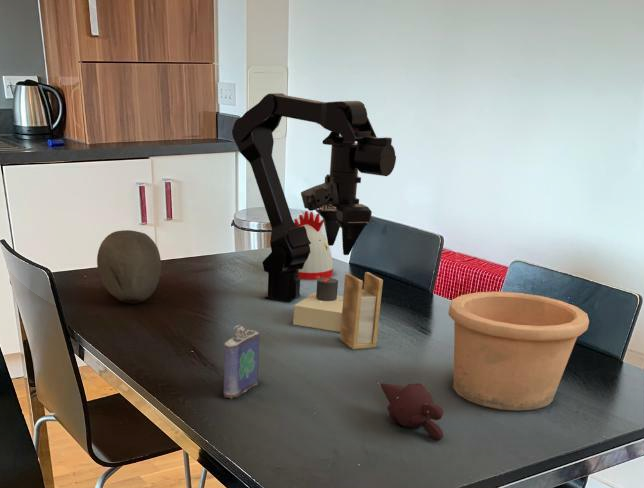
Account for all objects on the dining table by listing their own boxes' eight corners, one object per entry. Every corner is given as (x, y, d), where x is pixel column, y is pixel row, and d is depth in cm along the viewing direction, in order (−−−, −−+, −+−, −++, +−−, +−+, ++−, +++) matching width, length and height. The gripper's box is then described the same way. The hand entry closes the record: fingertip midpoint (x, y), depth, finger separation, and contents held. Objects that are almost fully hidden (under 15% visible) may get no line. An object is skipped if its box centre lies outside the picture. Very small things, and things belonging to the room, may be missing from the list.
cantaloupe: (175, 304, 173) (172, 234, 165) (115, 313, 166) (110, 240, 158) (146, 290, 183) (143, 222, 175) (89, 297, 176) (83, 227, 168)
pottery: (481, 361, 147) (495, 284, 140) (592, 395, 134) (613, 312, 127) (412, 388, 134) (423, 305, 126) (527, 430, 120) (547, 339, 113)
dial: (320, 294, 169) (321, 275, 167) (339, 297, 168) (341, 277, 166) (313, 299, 166) (314, 279, 164) (332, 302, 164) (334, 282, 162)
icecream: (360, 374, 121) (420, 417, 111) (399, 356, 123) (462, 397, 113) (363, 411, 126) (421, 455, 115) (401, 393, 128) (461, 435, 117)
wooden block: (291, 324, 163) (292, 304, 161) (313, 309, 174) (314, 290, 171) (356, 334, 159) (358, 314, 157) (375, 318, 169) (377, 299, 167)
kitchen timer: (315, 282, 194) (318, 218, 186) (268, 273, 200) (270, 211, 193) (342, 272, 204) (346, 211, 196) (297, 263, 210) (300, 204, 203)
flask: (233, 399, 127) (233, 335, 121) (218, 396, 128) (217, 332, 123) (261, 382, 134) (263, 321, 129) (246, 379, 135) (247, 318, 130)
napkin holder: (339, 339, 155) (345, 273, 149) (362, 337, 157) (368, 272, 151) (353, 349, 151) (359, 281, 144) (376, 347, 152) (383, 279, 146)
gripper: (292, 164, 164) (288, 241, 172) (322, 177, 149) (316, 261, 157) (341, 164, 167) (336, 240, 175) (376, 177, 152) (368, 259, 160)
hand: (338, 250), depth 166 cm, fingers open, 9 cm apart
